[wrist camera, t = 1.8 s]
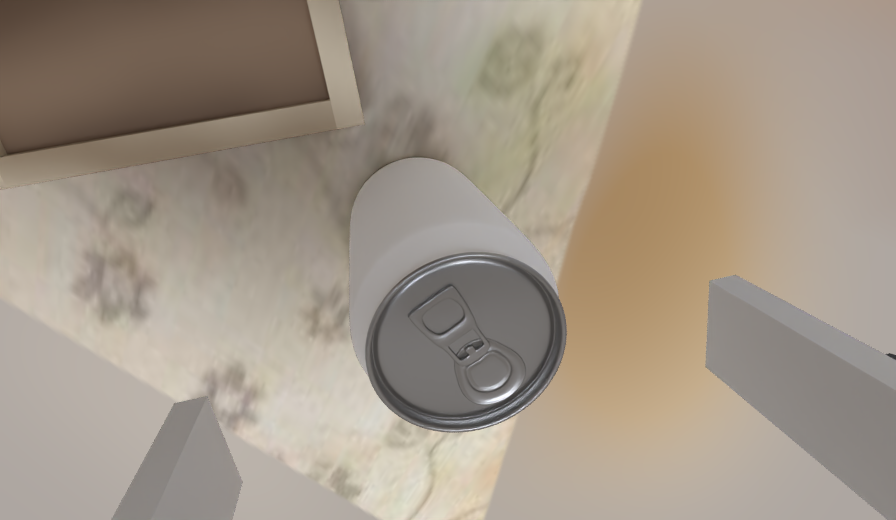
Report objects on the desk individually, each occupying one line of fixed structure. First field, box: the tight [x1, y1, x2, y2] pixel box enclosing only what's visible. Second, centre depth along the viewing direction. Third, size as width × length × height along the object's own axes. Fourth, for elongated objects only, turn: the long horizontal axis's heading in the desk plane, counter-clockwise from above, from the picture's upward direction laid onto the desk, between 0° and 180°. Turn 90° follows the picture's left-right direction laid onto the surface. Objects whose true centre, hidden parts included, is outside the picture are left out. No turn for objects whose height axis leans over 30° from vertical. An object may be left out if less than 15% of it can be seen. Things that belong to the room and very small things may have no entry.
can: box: [349, 157, 567, 432], centre depth 19 cm, size 6×6×12 cm
